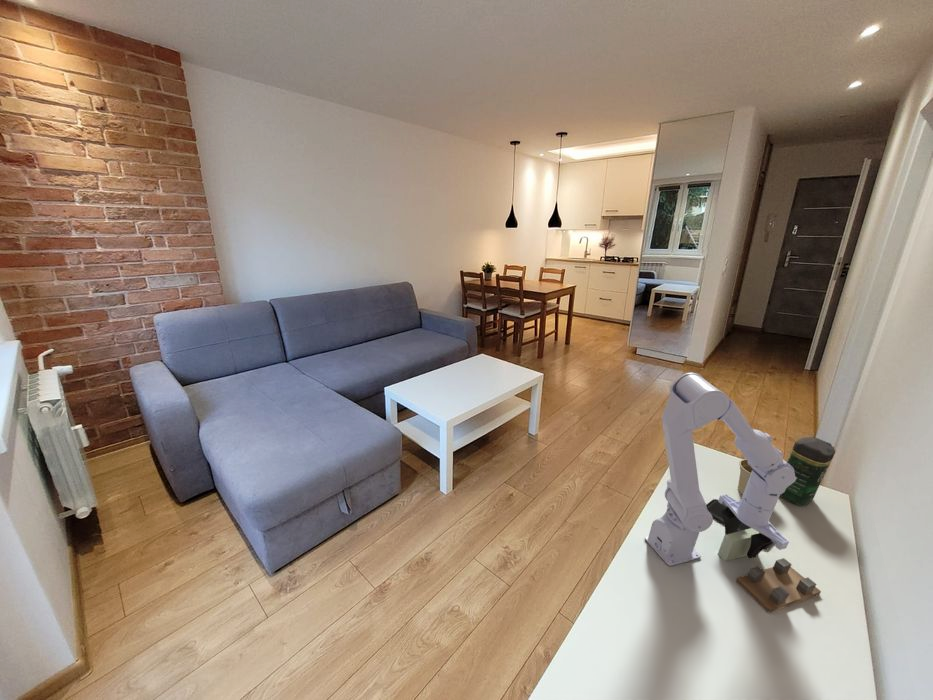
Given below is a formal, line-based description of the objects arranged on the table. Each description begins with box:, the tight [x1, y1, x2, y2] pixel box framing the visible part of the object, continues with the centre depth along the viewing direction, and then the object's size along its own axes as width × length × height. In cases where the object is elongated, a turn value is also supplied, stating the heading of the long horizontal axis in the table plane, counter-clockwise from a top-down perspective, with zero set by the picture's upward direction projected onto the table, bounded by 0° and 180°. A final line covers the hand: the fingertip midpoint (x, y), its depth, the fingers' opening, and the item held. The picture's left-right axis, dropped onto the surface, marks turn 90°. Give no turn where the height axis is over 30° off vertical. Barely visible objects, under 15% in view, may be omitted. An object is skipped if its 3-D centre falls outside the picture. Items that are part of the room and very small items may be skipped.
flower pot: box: [737, 458, 754, 496], centre depth 105 cm, size 9×9×9 cm
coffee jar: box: [779, 436, 836, 506], centre depth 103 cm, size 10×8×19 cm
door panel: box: [717, 528, 759, 562], centre depth 86 cm, size 10×2×6 cm, turn 106°
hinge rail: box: [735, 557, 822, 613], centre depth 78 cm, size 15×7×4 cm, turn 106°
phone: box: [706, 498, 773, 551], centre depth 95 cm, size 8×1×15 cm
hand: (739, 546), depth 86 cm, fingers open, 5 cm apart
